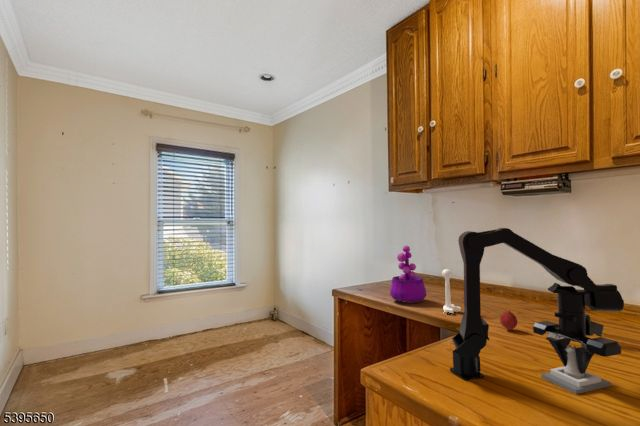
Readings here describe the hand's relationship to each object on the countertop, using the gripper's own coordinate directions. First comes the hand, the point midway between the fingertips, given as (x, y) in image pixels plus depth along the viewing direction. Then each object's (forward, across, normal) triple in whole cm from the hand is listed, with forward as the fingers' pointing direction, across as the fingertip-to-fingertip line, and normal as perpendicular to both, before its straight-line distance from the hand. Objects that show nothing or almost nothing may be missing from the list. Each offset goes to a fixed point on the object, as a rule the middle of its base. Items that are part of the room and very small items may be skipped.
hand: (574, 370), depth 85 cm
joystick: (+3, +66, -14) cm, 68 cm away
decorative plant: (+3, +91, -6) cm, 91 cm away
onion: (+3, +37, -17) cm, 41 cm away
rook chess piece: (+2, 0, 0) cm, 2 cm away
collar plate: (+3, 0, 0) cm, 3 cm away
